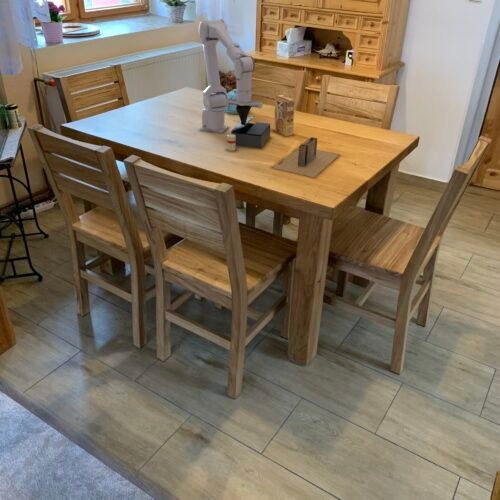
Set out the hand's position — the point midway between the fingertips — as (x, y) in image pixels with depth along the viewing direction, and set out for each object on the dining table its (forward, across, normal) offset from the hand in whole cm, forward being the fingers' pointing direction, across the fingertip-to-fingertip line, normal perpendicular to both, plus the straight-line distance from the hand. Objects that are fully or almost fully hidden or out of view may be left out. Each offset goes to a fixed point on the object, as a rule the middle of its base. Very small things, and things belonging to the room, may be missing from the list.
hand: (243, 124), depth 201 cm
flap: (+1, -1, +4) cm, 4 cm away
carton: (+8, +2, +4) cm, 10 cm away
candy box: (+9, +12, +19) cm, 24 cm away
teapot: (+9, -17, +44) cm, 48 cm away
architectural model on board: (+9, +28, -10) cm, 31 cm away
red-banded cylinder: (+8, -2, -8) cm, 12 cm away
